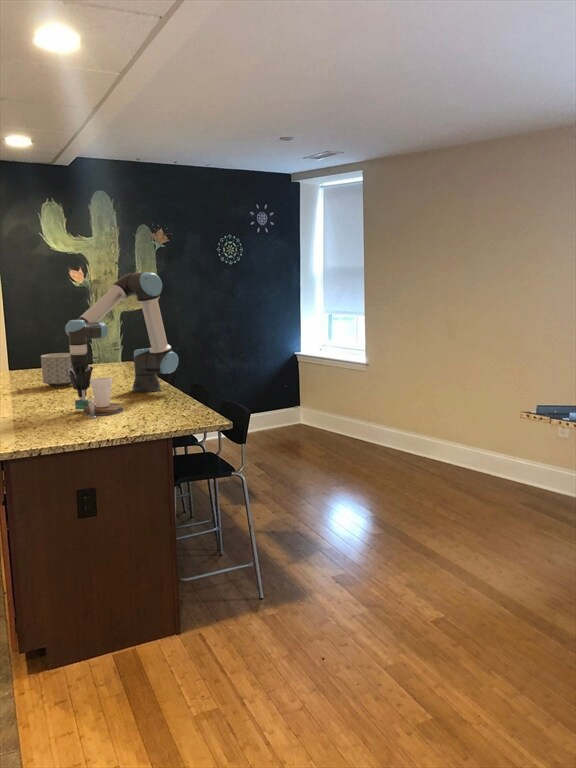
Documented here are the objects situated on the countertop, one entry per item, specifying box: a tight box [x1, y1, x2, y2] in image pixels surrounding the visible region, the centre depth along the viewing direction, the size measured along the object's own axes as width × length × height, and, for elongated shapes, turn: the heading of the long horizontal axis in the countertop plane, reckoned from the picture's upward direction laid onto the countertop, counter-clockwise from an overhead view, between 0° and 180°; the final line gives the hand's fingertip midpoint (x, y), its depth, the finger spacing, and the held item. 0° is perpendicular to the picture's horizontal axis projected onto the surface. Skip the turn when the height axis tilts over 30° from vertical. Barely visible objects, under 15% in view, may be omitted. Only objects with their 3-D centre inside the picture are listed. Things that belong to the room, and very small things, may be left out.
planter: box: [40, 352, 76, 388], centre depth 351 cm, size 19×19×18 cm
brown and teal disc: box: [74, 399, 123, 414], centre depth 281 cm, size 17×22×4 cm
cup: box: [90, 376, 113, 407], centre depth 280 cm, size 10×10×13 cm
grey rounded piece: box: [87, 396, 98, 419], centre depth 269 cm, size 4×4×9 cm
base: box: [82, 407, 124, 417], centre depth 282 cm, size 18×18×1 cm
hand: (82, 403), depth 285 cm, fingers closed
